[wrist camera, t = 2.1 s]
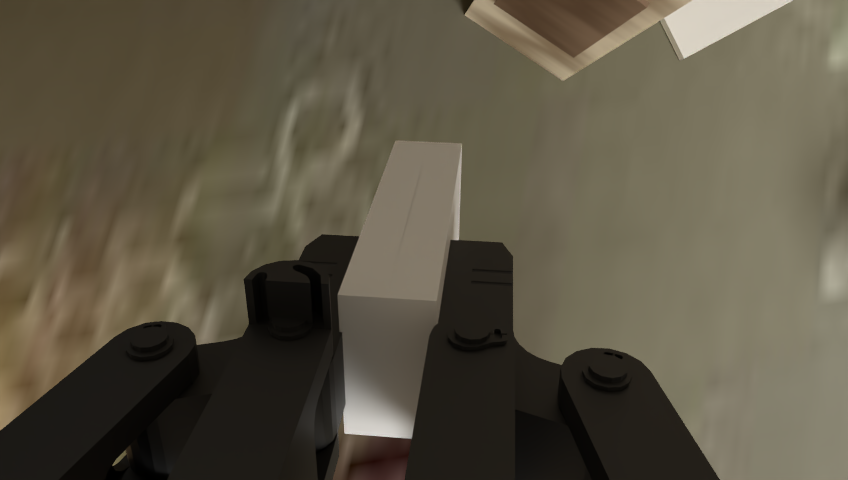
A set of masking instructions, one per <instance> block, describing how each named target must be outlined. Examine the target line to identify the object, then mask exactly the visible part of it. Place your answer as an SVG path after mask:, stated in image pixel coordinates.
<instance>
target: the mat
mask: <svg viewBox="0 0 848 480" xmlns="http://www.w3.org/2000/svg"><path fill="white" fill-rule="evenodd" d="M791 1H793V0H692V1H691V2H689V3H687V4H686V5H684V6H683V7H681V8H679V9H678V10H676V11H675V12H673V13H671V14H670V15H668V16H667V17H665V18H663V19H662V20H660V22H661V24H662V26H663V28H664V30H665V32H666V34H667V36H668V38H669V40H670V42H671V44H672V46H673V48H674V50H675V52H676V54H677V56H678V58H679V60H682V59H684V58H686V57H688V56H690V55H692V54H694V53H695V52H697V51H699V50H701V49H703V48H705V47H707V46H709V45H710V44H712V43H714V42H716V41H718V40H720V39H722V38H723V37H725V36H727V35H729V34H731V33H733V32H735V31H737V30H738V29H740V28H742V27H744V26H746V25H748V24H750V23H751V22H753V21H755V20H757V19H759V18H761V17H763V16H765V15H766V14H768V13H770V12H772V11H774V10H776V9H778V8H779V7H781V6H783V5H785V4H787V3H789V2H791Z"/></svg>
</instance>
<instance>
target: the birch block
mask: <svg viewBox="0 0 848 480" xmlns="http://www.w3.org/2000/svg"><path fill="white" fill-rule="evenodd" d="M691 1H692V0H474V1H473V2H472V4H471V5H470V7H469V9H468V10H467V12H466V13H465V16H467V17H468V18H470V19H471V20H473V21H474V22H476V23H477V24H479V25H480V26H482V27H483V28H485V29H486V30H488V31H489V32H491V33H492V34H494V35H495V36H497V37H498V38H500V39H501V40H503V41H504V42H505V43H507V44H508V45H510V46H511V47H513V48H514V49H516V50H517V51H519V52H520V53H522V54H523V55H525V56H526V57H528V58H529V59H531V60H532V61H534V62H535V63H537V64H538V65H540V66H541V67H543V68H544V69H546V70H547V71H549V72H550V73H552V74H553V75H555V76H556V77H558V78H559V79H561V80H562V81H564V80H565V79H567V78H568V77H570V76H572V75H573V74H575V73H576V72H578V71H580V70H581V69H583V68H584V67H586V66H588V65H589V64H591V63H593V62H594V61H596V60H597V59H599V58H601V57H602V56H604V55H605V54H607V53H609V52H610V51H612V50H613V49H615V48H617V47H618V46H620V45H621V44H623V43H625V42H626V41H628V40H630V39H631V38H633V37H634V36H636V35H638V34H639V33H641V32H642V31H644V30H646V29H647V28H649V27H650V26H652V25H654V24H655V23H657V22H658V21H660V20H662V19H663V18H665V17H667V16H668V15H670V14H671V13H673V12H675V11H676V10H678V9H679V8H681V7H683V6H684V5H686V4H687V3H689V2H691Z"/></svg>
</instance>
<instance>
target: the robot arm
mask: <svg viewBox="0 0 848 480" xmlns="http://www.w3.org/2000/svg"><path fill="white" fill-rule="evenodd" d="M461 159H462V143H440V142H417V141H395V143H394V146H393V149H392V151H391V154H390V157H389V159H388V162H387V165H386V167H385V170H384V173H383V175H382V178H381V181H380V183H379V186H378V189H377V191H376V194H375V197H374V199H373V202H372V205H371V207H370V210H369V212H368V215H367V218H366V220H365V223H364V226H363V228H362V231H361V234H360V236H359V237H358V236H340V235H321V236H319V237H318V238H317V239H315V240H314V241H312V242H311V243H310V244H308V245H307V246H306V247H305V249H304V251H303V253H302V255H301V257H300V259H299V261H298V260H293V261H278V262H274V263H270V264H266V265H263V266H261V267H259V268H257V269H255V270H253V271H251V272H250V273H249V274H248V275H247V276H246V277H245V278H244V284H245V293H246V301H247V310H248V318H249V325H248V327H247V329H246V331H245V333H244V335H243V337H240V338H237V339H233V340H228V341H224V342H216V343H209V344H201V345H196V339H195V335H194V333H193V332H192V331H191V330H190V329H189V328H188V327H186V326H184V325H181V324H179V323H174V322H163V321H160V322H150V323H144V324H141V325H138V326H135V327H132V328H129V329H127V330H125V331H124V332H122V333H121V334H119V335H117V336H116V337H114V338H113V339H112V340H110V341H109V342H108V343H107V344H106V345H104V346H103V347H102V348H101V349H99V350H98V351H97V352H96V353H95V354H93V355H92V356H91V357H90V358H88V359H87V360H86V361H85V362H84V363H82V364H81V365H80V366H79V367H78V368H76V369H75V370H74V371H73V372H71V373H70V374H69V375H68V376H67V377H65V378H64V379H63V380H62V381H60V382H59V383H58V384H57V385H56V386H54V387H53V388H52V389H51V390H49V391H48V392H47V393H46V394H45V395H43V396H42V397H41V398H40V399H38V400H37V401H36V402H35V403H34V404H32V405H31V406H30V407H29V408H27V409H26V410H25V411H24V412H23V413H21V414H20V415H19V416H18V417H16V418H15V419H14V420H13V421H12V422H10V423H9V424H8V425H7V426H6V427H4V428H3V429H2V430H1V431H0V480H332V479H333V475H334V472H335V468H336V464H337V461H338V457H339V441H338V429H339V425H340V422H341V418H342V415H343V412H344V431H345V434H358V435H371V436H384V437H397V438H410V439H412V440H411V446H410V452H409V458H408V464H407V470H406V475H405V480H720V479H719V478H718V476H717V475H716V473H715V471H714V470H713V468H712V467H711V465H710V464H709V462H708V460H707V459H706V457H705V456H704V454H703V453H702V451H701V450H700V448H699V446H698V445H697V443H696V442H695V440H694V439H693V437H692V435H691V434H690V432H689V431H688V429H687V428H686V426H685V424H684V423H683V421H682V420H681V418H680V417H679V415H678V413H677V412H676V410H675V409H674V407H673V406H672V404H671V402H670V401H669V399H668V398H667V396H666V395H665V393H664V391H663V390H662V388H661V387H660V385H659V384H658V382H657V380H656V379H655V377H654V376H653V374H652V373H651V371H650V370H649V369H648V368H647V367H646V366H645V365H644V364H643V363H642V362H641V361H639V360H638V359H636V358H634V357H632V356H630V355H628V354H627V353H623V352H619V351H616V350H612V349H604V348H589V349H585V350H580V351H576V352H575V353H573V354H571V355H570V356H568V357H567V358H566V359H565V360H564V362H563V364H562V365H559V364H556V363H552V362H549V361H546V360H543V359H541V358H538V357H536V356H534V355H532V354H531V353H529V352H527V351H526V350H525V349H524V348H523V347H521V346H520V345H519V343H518V342H517V340H516V339H515V337H514V333H513V256H512V255H511V253H510V252H509V251H508V250H507V248H506V247H505V246H504V245H503V243H500V242H482V241H464V240H459V218H460V188H461ZM125 450H126V453H127V454H126V456H125V457H124V458H123V459H122V460H121V461H120V462H119V463H117V464H116V465H114V466H112V464H113V463H114V462H115V460H116V459H117V458H118V457H119V456H120V455H121V454H122V453H123V452H124V451H125Z"/></svg>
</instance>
